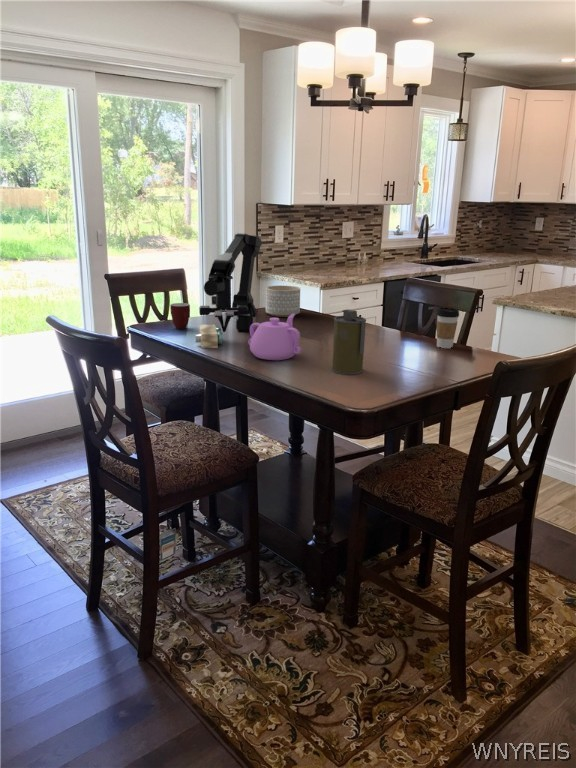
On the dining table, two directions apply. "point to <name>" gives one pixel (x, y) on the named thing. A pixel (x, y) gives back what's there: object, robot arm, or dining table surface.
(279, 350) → the teapot
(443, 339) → the coffee cup
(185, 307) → the mug
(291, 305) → the planter
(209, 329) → the mount
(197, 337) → the knob
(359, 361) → the canister
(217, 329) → the knob
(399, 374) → the dining table surface
